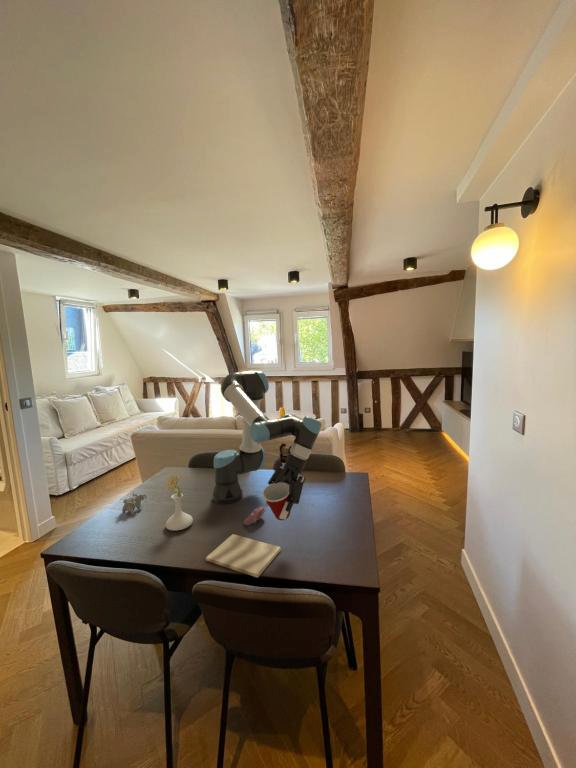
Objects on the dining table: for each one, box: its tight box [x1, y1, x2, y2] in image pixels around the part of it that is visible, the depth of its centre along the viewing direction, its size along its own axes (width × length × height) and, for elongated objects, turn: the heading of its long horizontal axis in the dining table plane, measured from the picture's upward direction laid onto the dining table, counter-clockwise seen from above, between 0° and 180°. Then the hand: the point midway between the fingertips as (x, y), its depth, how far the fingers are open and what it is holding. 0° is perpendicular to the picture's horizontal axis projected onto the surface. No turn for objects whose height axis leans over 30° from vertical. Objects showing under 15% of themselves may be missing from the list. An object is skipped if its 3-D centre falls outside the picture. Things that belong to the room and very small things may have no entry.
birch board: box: [205, 533, 282, 578], centre depth 121 cm, size 22×16×1 cm
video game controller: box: [243, 506, 266, 526], centre depth 144 cm, size 10×5×7 cm, turn 149°
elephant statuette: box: [121, 492, 148, 516], centre depth 159 cm, size 9×12×8 cm
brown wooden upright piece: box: [279, 442, 292, 483], centre depth 188 cm, size 15×15×20 cm
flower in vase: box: [165, 472, 194, 532], centre depth 141 cm, size 13×11×25 cm
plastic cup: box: [261, 481, 291, 521], centre depth 125 cm, size 11×11×12 cm
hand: (274, 511), depth 124 cm, fingers closed on plastic cup, 9 cm apart
